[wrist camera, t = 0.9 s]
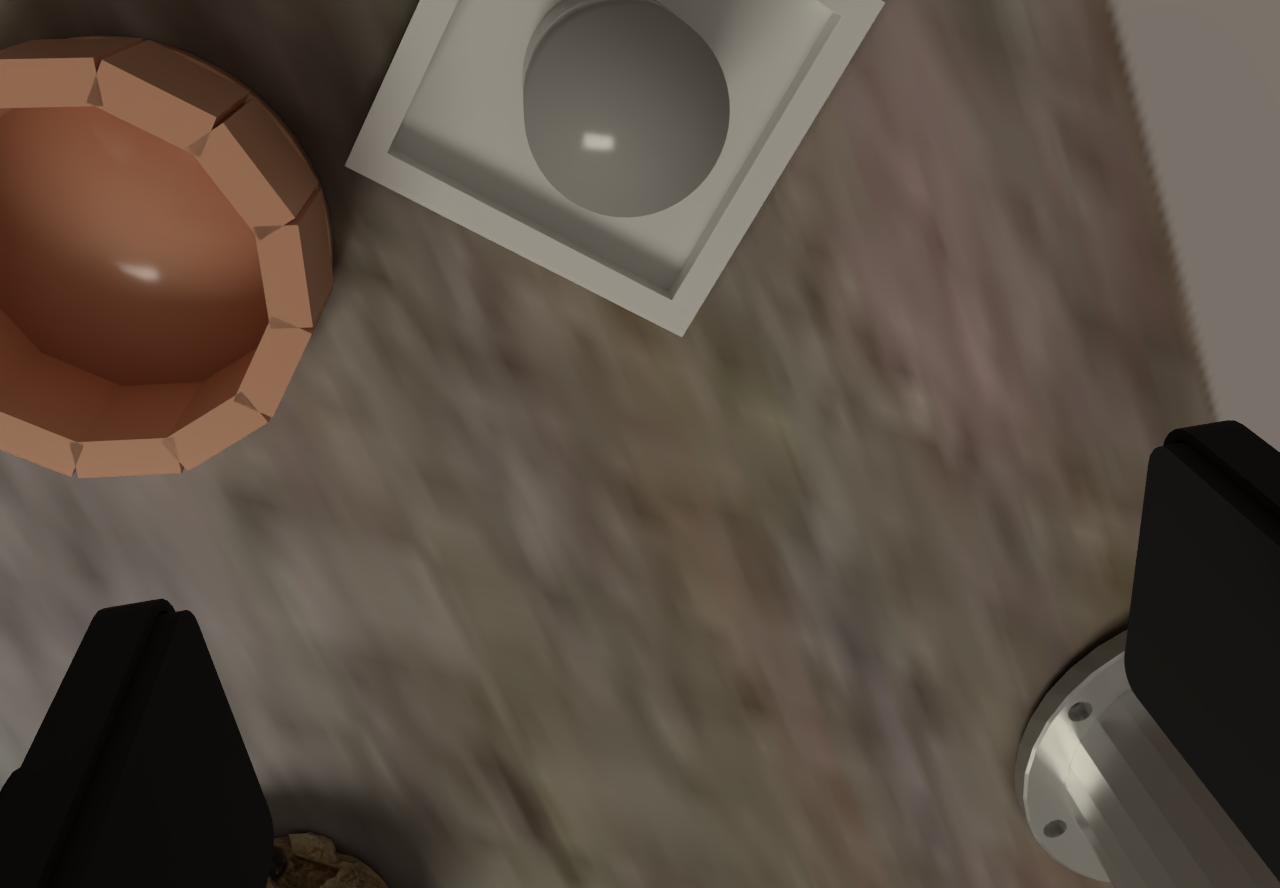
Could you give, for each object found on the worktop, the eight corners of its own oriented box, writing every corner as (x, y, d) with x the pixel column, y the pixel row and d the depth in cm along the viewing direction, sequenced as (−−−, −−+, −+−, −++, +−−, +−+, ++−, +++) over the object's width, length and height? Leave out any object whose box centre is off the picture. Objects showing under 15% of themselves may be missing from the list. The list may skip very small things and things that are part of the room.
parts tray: (871, -2, 29) (885, 3, 28) (676, 322, 32) (681, 337, 31) (525, -228, 26) (525, -233, 25) (350, 155, 29) (344, 165, 28)
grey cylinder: (729, 44, 29) (768, 73, 24) (642, 197, 30) (664, 251, 26) (574, -50, 27) (586, -38, 23) (492, 115, 29) (488, 157, 25)
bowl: (394, 157, 30) (376, 197, 26) (251, 458, 33) (217, 534, 29) (1, -46, 27) (-85, -35, 23) (-110, 309, 30) (-201, 371, 26)
